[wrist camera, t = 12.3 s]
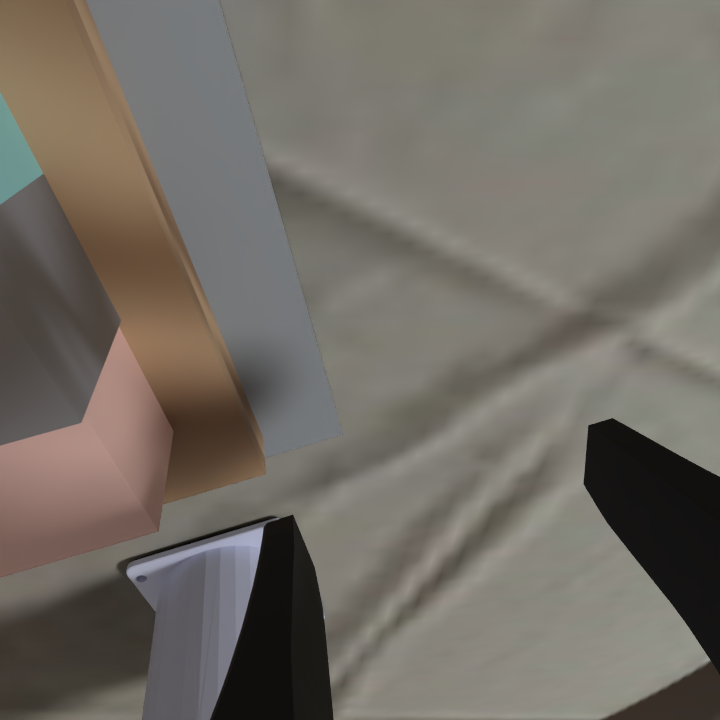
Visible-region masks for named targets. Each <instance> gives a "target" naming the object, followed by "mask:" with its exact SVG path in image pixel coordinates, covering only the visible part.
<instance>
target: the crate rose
mask: <svg viewBox="0 0 720 720" xmlns="http://www.w3.org/2000/svg"><path fill="white" fill-rule="evenodd" d="M172 438H173V429H172V427H171V425H170V424H169V422H168V420H167V418H166V416H165V414H164V412H163V410H162V408H161V406H160V404H159V403H158V401H157V399H156V397H155V395H154V393H153V391H152V389H151V387H150V385H149V383H148V381H147V380H146V378H145V376H144V374H143V372H142V370H141V368H140V366H139V364H138V362H137V360H136V358H135V357H134V355H133V353H132V351H131V349H130V347H129V345H128V343H127V341H126V339H125V337H124V335H123V334H122V332H121V330H120V328H118V331H117V333H116V336H115V338H114V341H113V343H112V346H111V348H110V351H109V354H108V356H107V359H106V361H105V364H104V366H103V369H102V371H101V374H100V377H99V379H98V382H97V384H96V387H95V389H94V392H93V394H92V397H91V399H90V402H89V405H88V407H87V410H86V412H85V415H84V417H83V420H82V422H81V423H79V424H76V425H72V426H68V427H65V428H61V429H58V430H54V431H51V432H47V433H43V434H40V435H36V436H33V437H29V438H26V439H22V440H19V441H15V442H11V443H8V444H4V445H1V446H0V577H4V576H7V575H11V574H14V573H18V572H21V571H24V570H28V569H31V568H35V567H38V566H42V565H45V564H48V563H52V562H55V561H59V560H62V559H66V558H69V557H72V556H76V555H79V554H83V553H86V552H90V551H93V550H97V549H100V548H103V547H107V546H110V545H114V544H117V543H121V542H124V541H127V540H131V539H134V538H138V537H141V536H145V535H148V534H151V533H155V532H158V531H159V525H160V519H161V512H162V505H163V499H164V492H165V485H166V478H167V472H168V465H169V458H170V452H171V445H172Z"/></svg>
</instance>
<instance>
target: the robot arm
mask: <svg viewBox="0 0 720 720" xmlns="http://www.w3.org/2000/svg"><path fill="white" fill-rule="evenodd" d="M584 485H585V487H586V489H587V491H588V492H589V494H590V496H591V497H592V499H593V501H594V502H595V504H596V506H597V507H598V509H599V510H600V512H601V514H602V515H603V517H604V518H605V520H606V521H607V523H608V524H609V525H610V527H611V528H612V529H613V531H614V532H615V533H616V534H617V536H618V537H619V538H620V540H621V541H622V542H623V543H624V545H625V546H626V547H627V548H628V550H629V551H630V552H631V554H632V555H633V556H634V557H635V559H636V560H637V561H638V562H639V564H640V565H641V566H642V567H643V569H644V570H645V571H646V572H647V574H648V575H649V576H650V577H651V579H652V580H653V581H654V582H655V584H656V585H657V586H658V587H659V589H660V590H661V591H662V592H663V594H664V595H665V596H666V597H667V599H668V600H669V601H670V602H671V604H672V605H673V606H674V608H675V609H676V610H677V612H678V613H679V614H680V616H681V617H682V618H683V620H684V621H685V622H686V624H687V625H688V627H689V628H690V630H691V631H692V633H693V634H694V636H695V637H696V639H697V640H698V642H699V643H700V645H701V646H702V648H703V649H704V651H705V652H706V654H707V655H708V657H709V658H710V660H711V661H712V663H713V664H714V666H715V668H716V669H717V670H718V672H719V674H720V477H719V476H717V475H715V474H713V473H711V472H709V471H707V470H705V469H704V468H702V467H700V466H698V465H696V464H694V463H692V462H690V461H689V460H687V459H685V458H683V457H681V456H679V455H678V454H676V453H674V452H672V451H670V450H669V449H667V448H665V447H663V446H661V445H660V444H658V443H656V442H654V441H652V440H651V439H649V438H647V437H645V436H644V435H642V434H640V433H638V432H636V431H635V430H633V429H631V428H629V427H628V426H626V425H624V424H622V423H620V422H618V421H617V420H615V419H613V418H612V419H608V420H605V421H602V422H598V423H595V424H592V425H589V426H588V438H587V450H586V462H585V474H584ZM126 574H127V576H128V577H129V578H130V580H131V581H132V582H133V584H134V585H135V586H136V587H137V589H138V590H139V591H140V593H141V594H142V595H143V597H144V598H145V599H146V600H147V602H148V603H149V604H150V606H151V607H152V608H153V609H154V611H155V612H156V616H155V624H154V631H153V639H152V647H151V654H150V662H149V669H148V677H147V684H146V692H145V699H144V707H143V715H142V720H333V709H332V698H331V688H330V677H329V666H328V655H327V644H326V634H325V623H324V619H325V616H324V611H323V607H322V602H321V597H320V592H319V587H318V582H317V577H316V572H315V567H314V565H313V562H312V560H311V557H310V555H309V553H308V550H307V548H306V545H305V543H304V540H303V538H302V535H301V533H300V531H299V528H298V526H297V523H296V521H295V518H294V516H293V515H291V516H287V517H284V518H281V519H280V518H274V519H271V520H267V521H264V522H261V523H257V524H254V525H251V526H247V527H244V528H241V529H237V530H234V531H231V532H227V533H224V534H221V535H218V536H214V537H211V538H208V539H204V540H201V541H198V542H194V543H191V544H188V545H184V546H181V547H178V548H174V549H171V550H168V551H165V552H161V553H158V554H155V555H151V556H148V557H145V558H141V559H138V560H135V561H132V562H130V563H129V564H128V566H127V570H126Z"/></svg>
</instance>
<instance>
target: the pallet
mask: <svg viewBox="0 0 720 720" xmlns="http://www.w3.org/2000/svg"><path fill="white" fill-rule="evenodd" d="M0 92H1V94H2V96H3V98H4V100H5V102H6V104H7V106H8V108H9V109H10V111H11V113H12V115H13V117H14V119H15V121H16V123H17V125H18V126H19V128H20V130H21V132H22V134H23V136H24V138H25V140H26V142H27V144H28V145H29V147H30V149H31V151H32V153H33V155H34V157H35V159H36V161H37V162H38V164H39V166H40V168H41V170H42V172H43V174H42V175H41V176H40V177H38V178H37V179H35V180H34V181H33V182H31V183H30V184H28V185H27V186H26V187H24V188H23V189H21V190H20V191H19V192H17V193H16V194H15V195H13V196H12V197H10V198H9V199H8V200H6V201H5V202H3V203H2V204H1V205H0V446H1V445H4V444H8V443H11V442H15V441H19V440H22V439H26V438H29V437H33V436H36V435H40V434H43V433H47V432H51V431H54V430H58V429H61V428H65V427H68V426H72V425H76V424H79V423H81V422H82V420H83V417H84V415H85V412H86V410H87V407H88V405H89V402H90V399H91V397H92V394H93V392H94V389H95V387H96V384H97V382H98V379H99V377H100V374H101V371H102V369H103V366H104V364H105V361H106V359H107V356H108V354H109V351H110V348H111V346H112V343H113V341H114V338H115V336H116V333H117V331H118V328H120V330H121V332H122V334H123V335H124V337H125V339H126V341H127V343H128V345H129V347H130V349H131V351H132V353H133V355H134V357H135V358H136V360H137V362H138V364H139V366H140V368H141V370H142V372H143V374H144V376H145V378H146V380H147V381H148V383H149V385H150V387H151V389H152V391H153V393H154V395H155V397H156V399H157V401H158V403H159V404H160V406H161V408H162V410H163V412H164V414H165V416H166V418H167V420H168V422H169V424H170V425H171V427H172V429H173V438H172V445H171V452H170V458H169V465H168V472H167V478H166V485H165V492H164V499H163V504H166V503H169V502H173V501H176V500H180V499H183V498H186V497H190V496H193V495H196V494H200V493H203V492H207V491H210V490H213V489H217V488H220V487H224V486H227V485H230V484H234V483H237V482H241V481H244V480H247V479H251V478H254V477H258V476H261V475H264V474H266V467H265V454H264V441H263V436H262V433H261V431H260V428H259V426H258V423H257V421H256V418H255V416H254V414H253V411H252V409H251V406H250V404H249V401H248V399H247V396H246V394H245V391H244V389H243V386H242V384H241V382H240V379H239V377H238V374H237V372H236V369H235V367H234V364H233V362H232V359H231V357H230V354H229V352H228V350H227V347H226V345H225V342H224V340H223V337H222V335H221V332H220V330H219V327H218V325H217V322H216V320H215V317H214V315H213V313H212V310H211V308H210V305H209V303H208V300H207V298H206V295H205V293H204V290H203V288H202V285H201V283H200V281H199V278H198V276H197V273H196V271H195V268H194V266H193V263H192V261H191V258H190V256H189V253H188V251H187V249H186V246H185V244H184V241H183V239H182V236H181V234H180V231H179V229H178V226H177V224H176V221H175V219H174V217H173V214H172V212H171V209H170V207H169V204H168V202H167V199H166V197H165V194H164V192H163V189H162V187H161V185H160V182H159V180H158V177H157V175H156V172H155V170H154V167H153V165H152V162H151V160H150V157H149V155H148V152H147V150H146V148H145V145H144V143H143V140H142V138H141V135H140V133H139V130H138V128H137V125H136V123H135V120H134V118H133V116H132V113H131V111H130V108H129V106H128V103H127V101H126V98H125V96H124V93H123V91H122V88H121V86H120V84H119V81H118V79H117V76H116V74H115V71H114V69H113V66H112V64H111V61H110V59H109V56H108V54H107V52H106V49H105V47H104V44H103V42H102V39H101V37H100V34H99V32H98V29H97V27H96V24H95V22H94V19H93V17H92V15H91V12H90V10H89V7H88V5H87V2H86V0H0Z"/></svg>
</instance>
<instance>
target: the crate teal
mask: <svg viewBox="0 0 720 720" xmlns="http://www.w3.org/2000/svg"><path fill="white" fill-rule="evenodd" d="M42 174H43V172H42V170H41V168H40V166H39V164H38V162H37V161H36V159H35V157H34V155H33V153H32V151H31V149H30V147H29V145H28V144H27V142H26V140H25V138H24V136H23V134H22V132H21V130H20V128H19V126H18V125H17V123H16V121H15V119H14V117H13V115H12V113H11V111H10V109H9V108H8V106H7V104H6V102H5V100H4V98H3V96H2V94H1V92H0V205H1V204H2V203H3V202H5V201H6V200H8V199H9V198H10V197H12V196H13V195H15V194H16V193H17V192H19V191H20V190H21V189H23V188H24V187H26V186H27V185H28V184H30V183H31V182H33V181H34V180H35V179H37V178H38V177H40V176H41V175H42Z"/></svg>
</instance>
